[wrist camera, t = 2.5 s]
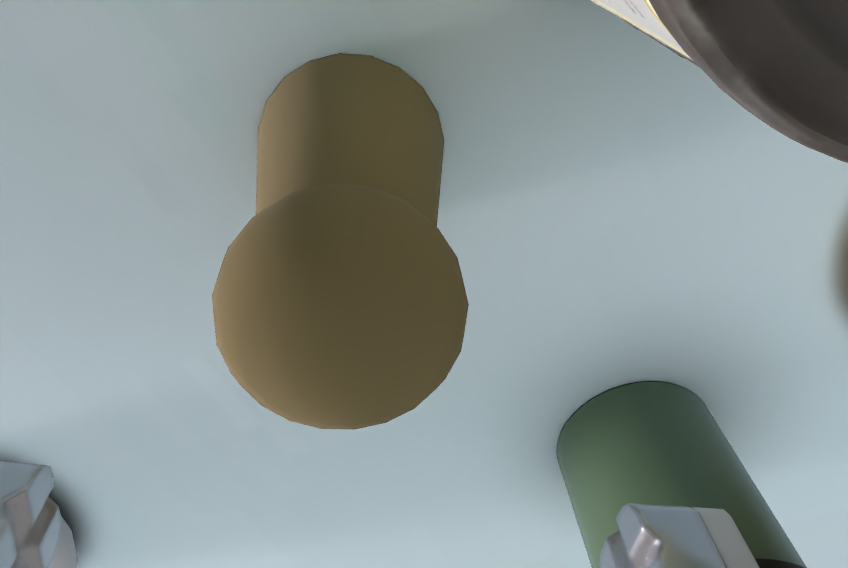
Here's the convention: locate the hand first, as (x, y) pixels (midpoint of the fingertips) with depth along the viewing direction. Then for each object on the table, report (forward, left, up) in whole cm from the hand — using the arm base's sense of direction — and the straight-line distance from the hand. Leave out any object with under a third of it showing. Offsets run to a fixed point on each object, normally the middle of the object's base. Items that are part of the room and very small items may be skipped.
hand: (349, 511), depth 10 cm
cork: (0, 0, -15) cm, 15 cm away
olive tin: (+14, -12, -14) cm, 23 cm away
